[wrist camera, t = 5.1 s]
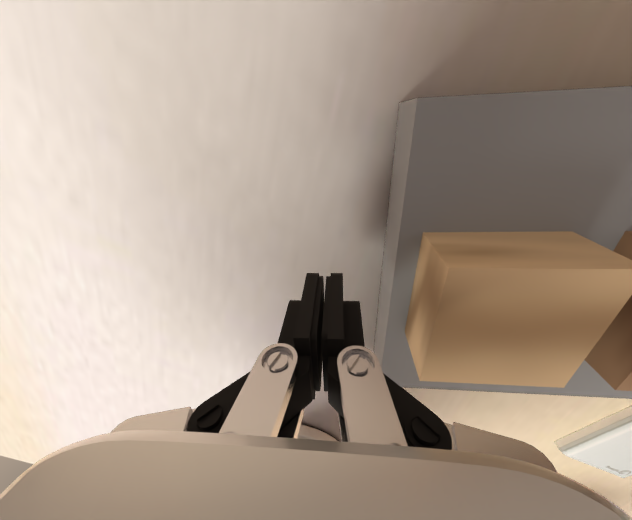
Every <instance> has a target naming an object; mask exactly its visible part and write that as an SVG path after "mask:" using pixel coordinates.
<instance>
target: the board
mask: <svg viewBox="0 0 632 520" xmlns="http://www.w3.org/2000/svg"><path fill="white" fill-rule="evenodd" d="M554 231H572V232H574V233H576V234H579V235H581V236H583V237H585V238H587V239H589V240H591V241H593V242H595V243H597V244H599V245H601V246H603V247H605V248H608V249H610V250H612V251H613V250H614V249H615V247H616V246H617V244H618V242H619V241H620V239H621V238H622V236H623V234H624V233H625V231H632V86H622V87H604V88H586V89H568V90H550V91H533V92H515V93H497V94H479V95H461V96H443V97H425V98H415V99H412V100H408V101H404V102H401V103H399V109H398V119H397V129H396V138H395V148H394V158H393V167H392V177H391V187H390V196H389V206H388V215H387V225H386V235H385V244H384V254H383V264H382V273H381V283H380V292H379V302H378V312H377V321H376V331H375V341H374V354H375V355H376V356H377V358H378V360H379V363H380V366H381V369H382V372H383V373H384V374H385V375H386V376H388V377H389V378H390V379H392V380H393V381H394V382H395V383H397V384H398V385H399V386H400V387H407V388H427V389H447V390H467V391H487V392H507V393H527V394H547V395H567V396H587V397H607V398H627V399H632V391H621V390H614V389H613V388H612V387H611V386H610V385H609V384H608V383H607V382H606V381H605V380H604V379H603V378H602V377H601V376H600V375H599V374H598V373H597V372H596V371H595V370H594V369H593V368H592V367H591V366H590V365H589V364H588V363H587V362H586V361H585V360H584V361H583V362H582V364H581V365H580V366H579V368H578V369H577V370H576V372H575V373H574V375H573V376H572V377H571V379H570V380H569V381H568V383H567V384H566V385H565V387H564V388H558V387H536V386H515V385H494V384H473V383H452V382H431V381H420V380H419V377H418V374H417V371H416V367H415V364H414V361H413V357H412V354H411V351H410V348H409V344H408V341H407V338H406V335H405V327H406V321H407V316H408V311H409V305H410V300H411V294H412V289H413V283H414V278H415V272H416V267H417V262H418V256H419V251H420V245H421V240H422V234H423V232H554Z"/></svg>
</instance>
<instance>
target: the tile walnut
mask: <svg viewBox="0 0 632 520" xmlns="http://www.w3.org/2000/svg"><path fill="white" fill-rule="evenodd" d="M613 251H614V252H616V253H618V254H620V255H622V256H624V257H626V258H628V259H630V260H632V231H625V233H624V234H623V236H622V238H621V239H620V241H619V242H618V244H617V246H616V247H615V249H614V250H613ZM584 360H585V361H586V362H587V363H588V364H589V365H590V366H591V367H592V368H593V369H594V370H595V371H596V372H597V373H598V374H599V375H600V376H601V377H602V378H603V379H604V380H605V381H606V382H607V383H608V384H609V385H610V386H611V387H612V388H613V389H614V390H621V391H632V295H631V297H630V298H629V299H628V301H627V302H626V304H625V305H624V306H623V308H622V309H621V310H620V312H619V313H618V314H617V316H616V317H615V319H614V320H613V321H612V323H611V324H610V325H609V327H608V328H607V329H606V331H605V332H604V334H603V335H602V336H601V338H600V339H599V340H598V342H597V343H596V344H595V346H594V347H593V349H592V350H591V351H590V353H589V354H588V355H587V357H586V358H585V359H584Z"/></svg>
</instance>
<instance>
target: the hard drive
mask: <svg viewBox="0 0 632 520" xmlns="http://www.w3.org/2000/svg"><path fill="white" fill-rule="evenodd" d="M554 443H555V444H556V446H557V447H558V449H559V450H560V451H561V452H562V453H563V454H564V455H566V456H568V457H570V458H573V459H575V460H578V461H580V462H583V463H585V464H588V465H591V466H593V467H596V468H598V469H601V470H604V471H606V472H609V473H611V474H614V475H617V476H619V477H622V478H625V477H628V476H631V475H632V406H630V407H627V408H625V409H623V410H621V411H619V412H617V413H614V414H612V415H610V416H608V417H606V418H604V419H601V420H599V421H597V422H595V423H593V424H591V425H589V426H586V427H584V428H582V429H580V430H578V431H576V432H573V433H571V434H569V435H567V436H565V437H563V438H560V439H558V440H556V441H554Z"/></svg>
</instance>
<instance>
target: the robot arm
mask: <svg viewBox="0 0 632 520" xmlns="http://www.w3.org/2000/svg"><path fill="white" fill-rule="evenodd" d="M322 360H323V379H324V391H328V400H329V403H330V404H331V405H332V407H333V408H334V409H335V410H336V411H337V412H338V421H339V428H340V436H341V442H340V441H337V440H336V439H335V438H333V437H332V436H330V435H328V434H327V433H325V432H322V431H320V430H318V429H315V428H312V427H308V426H305V425H301V422H302V418H303V415H304V408H305V407H306V406H307V405H308V404H309V403H311V402H312V399H315V391H320V387H321V373H322ZM0 520H632V518H631V517H630V516H629V515H628V514H627V513H626V512H624V511H623V510H622V509H621V508H619V507H618V506H616V505H615V504H614V503H612V502H611V501H609V500H608V499H606V498H605V497H603V496H601V495H600V494H598V493H596V492H595V491H593V490H591V489H589V488H588V487H586V486H584V485H582V484H580V483H578V482H576V481H574V480H572V479H570V478H568V477H566V476H564V475H561V474H559V473H557V471H556V469H555V468H554V466H553V464H552V463H551V462H550V461H549V460H548V458H547V457H546V456H545V455H544V454H543V453H542V452H540V451H539V450H537V449H536V448H535V447H533V446H532V445H529V444H527V443H525V442H523V441H519V440H516V439H512V438H509V437H505V436H502V435H498V434H495V433H491V432H487V431H484V430H480V429H477V428H473V427H470V426H466V425H463V424H459V423H456V422H454V423H453V425H451V424H448V423H444V422H443V421H442V420H441V419H440V418H439V417H438V416H437V415H436V414H434V413H433V412H432V411H431V410H429V409H428V408H427V407H426V406H424V405H423V404H422V403H420V402H419V401H418V400H417V399H415V398H414V397H413V396H412V395H410V394H409V393H408V392H407V391H405V390H404V389H403V388H402V387H400V386H399V385H398V384H397V383H395V382H394V381H393V380H392V379H390V378H389V377H388V376H386V375H385V374H384V373H383V372H382V369H381V366H380V363H379V360H378V358H377V356H376V355H375V354H374V353H373V352H372V351H371V350H370V349H368V348H366V347H364V338H363V328H362V319H361V310H360V302H359V301H343V274H342V273H331V276H327V277H326V288H325V300H324V285H323V276H319V273H307V275H306V280H305V285H304V289H303V294H302V299H301V301H299V300H290V301H289V304H288V308H287V311H286V315H285V319H284V322H283V326H282V330H281V333H280V337H279V340H278V343H277V344H273V345H270V346H268V347H267V348H265V349H264V350H263V351H262V352H261V353H260V355H259V356H258V358H257V360H256V362H255V364H254V366H253V368H252V370H251V371H250V372H249V373H247V374H246V375H244V376H243V377H241V378H240V379H238V380H237V381H235V382H234V383H232V384H231V385H229V386H228V387H226V388H225V389H223V390H222V391H220V392H219V393H217V394H215V395H214V396H212V397H211V398H209V399H208V400H206V401H205V402H203V403H202V404H201V405H200V406H198V407H197V408H196V409H191V407H185V408H180V409H174V410H169V411H163V412H158V413H152V414H147V415H141V416H136V417H132V418H130V419H127V420H125V421H124V422H122V423H120V424H119V425H118V426H117V427H116V428H115V429H114V430H112V431H111V433H107V434H102V435H98V436H95V437H91V438H88V439H85V440H82V441H79V442H76V443H73V444H70V445H68V446H66V447H63V448H61V449H59V450H57V451H55V452H53V453H51V454H49V455H47V456H46V457H44V458H42V459H41V460H39V461H38V462H36V463H35V464H34V465H32V466H31V467H30V468H29V469H27V470H26V471H25V472H24V473H22V474H21V475H20V476H19V477H18V478H17V479H16V480H15V481H14V482H13V483H11V484H10V486H8V487H7V488H6V489H5V490H4V491H3V492H2V493H1V494H0Z"/></svg>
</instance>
